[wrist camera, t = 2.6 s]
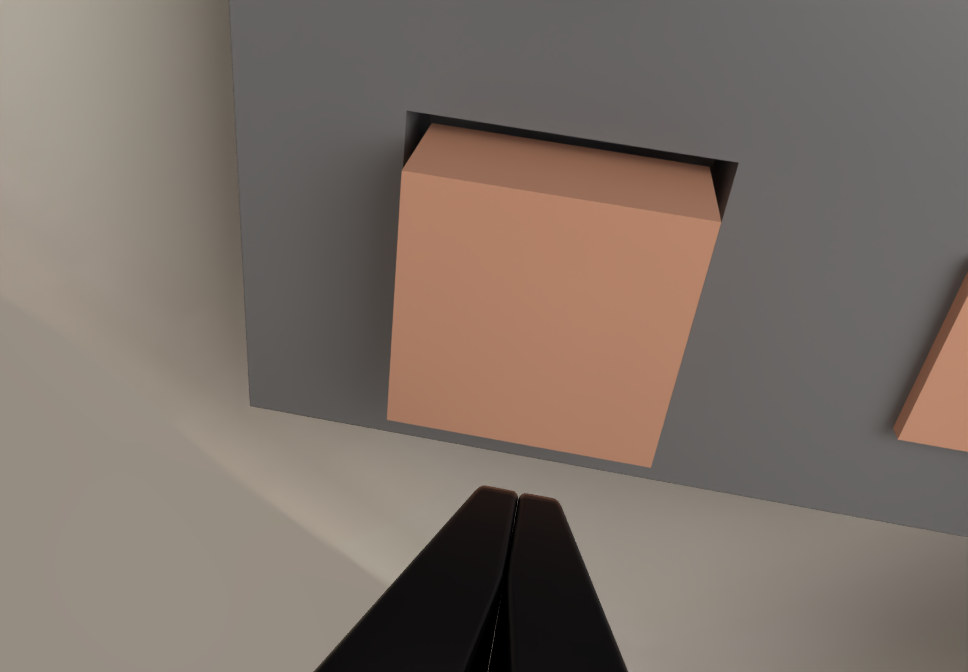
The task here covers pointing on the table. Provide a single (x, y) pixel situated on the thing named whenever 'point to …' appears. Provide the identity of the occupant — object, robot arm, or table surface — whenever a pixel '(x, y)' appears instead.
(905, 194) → the keypad
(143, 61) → the table surface
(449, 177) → the terracotta key
